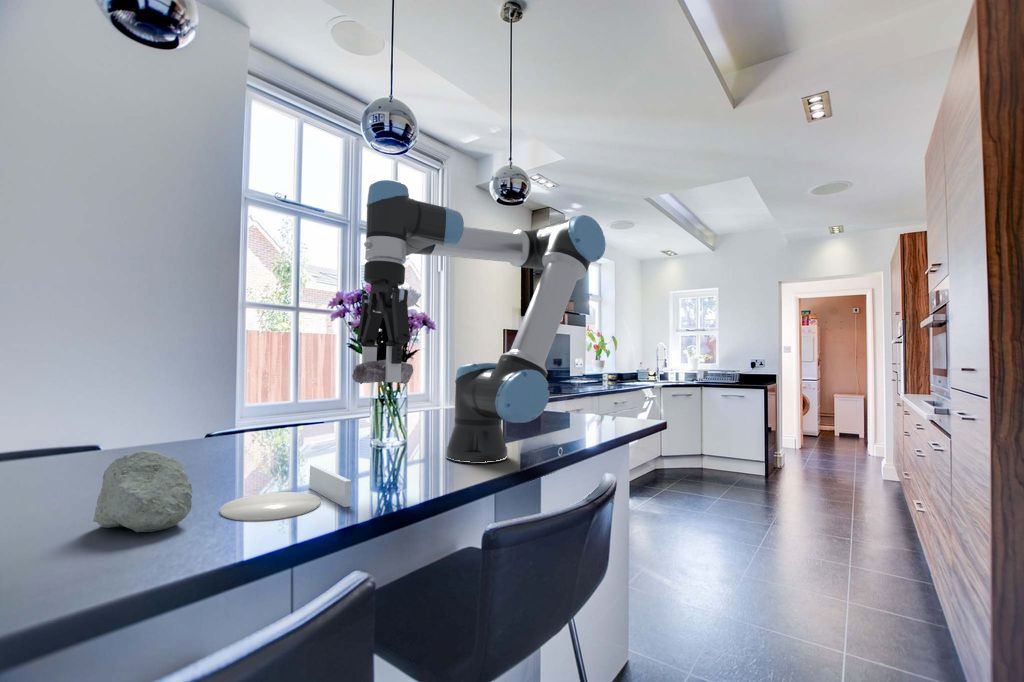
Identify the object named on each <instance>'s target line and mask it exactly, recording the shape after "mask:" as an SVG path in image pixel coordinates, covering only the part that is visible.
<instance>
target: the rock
mask: <svg viewBox="0 0 1024 682" xmlns="http://www.w3.org/2000/svg"><path fill="white" fill-rule="evenodd" d="M413 373H414V366H413V365H412V364H411V363H408V362H405V361H402V362H401V382H395V383H397V384H402V385H405V384H406V385H407V384H408V383H409V382H410V379H411V378H412V375H413ZM385 374H386V359H383V360H382V359H381V360H377V361H370V362H367V363H362V362H361V363H359V364H357V365H355V367H354V369H353V373H352V375H351V376H352V377H351V378H352V380H353V381H355V383H359V384H360V385H362V384H370V383H373V384H374V383H382V382H384V383H386V382H385Z"/></svg>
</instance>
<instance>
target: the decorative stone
mask: <svg viewBox="0 0 1024 682" xmlns="http://www.w3.org/2000/svg"><path fill="white" fill-rule="evenodd" d="M101 487H102V488H101V489H100V492H99V495H97V496H98V497H97V499H96V507H95V510H94V515H93V521H94V522H96V523H97V524H98V525H99V526H101V527H102V528H109V529H110V528H120V527H125V528H127V529H130V530H132V531H134V532H136V533H143V532H144V533H155V532H158V531H164V530H167V529H169V528H172V527H174V526H176V525H178V524H179V523H181V521H183V520H184V519H185V518H187V516H188V515H189V514H190V512H191V510H192V507H193V506H192V504H193V503H192V502H193V501H192V499H193V487H192V484H191V483H190V481H189V476H188V474H187V473H186V472H185V468H184V465H183V463H181V462H180V461H178V460H176V459H174V458H173V457H170V456H167V455H165V454H164V453H161V452H157V451H153V450H145V449H144V450H143V449H142V450H139V451H137V452H133V453H130V454H127V455H122V456H120V457H117V458H116V459H114V460H113V462H112V463H110V464H109V466H108V467H107V468H106V469H105V470H104V472H103V475H102V486H101Z"/></svg>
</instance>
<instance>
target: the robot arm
mask: <svg viewBox="0 0 1024 682" xmlns="http://www.w3.org/2000/svg"><path fill="white" fill-rule="evenodd" d="M464 224H465V222H464V217H463V215H462V214H461V212H459V211H458V210H455V209H452V208H449V207H447V206H441V205H437V204H433V203H429V202H424V201H420V200H416V199H413V198H410V193H409V188H408V186H406V185H405V184H404V183H402V182H400V181H397V180H393V179H378V180H375V181H373V182H372V183H371V184H370V185H369V188H368V194H367V202H366V235H365V242H364V243H363V245H364V247H365V258H364V259H365V260H366V262H365V264H364V269H363V270H364V273H363V281H364V282H365V283H367V284H369V285H370V291H369V293H368V294H365V293H364V294H363V293H362V295H361V310H360V315H359V316H360V318H359V323H358V330H357V337H356V343H357V344H360V346H361V347H362V352H361V353H362V354H361V363H367V362H370V361H378V360H377V357H378V356H377V355H378V347H379V344H377V343H376V342H377V338H378V334H379V331H380V328H381V324H382V320H383V319H384V323H385V328H386V333H387V338H388V341H387V342H386V343H385V345H386V350H385V351H386V353H385V354H386V356H385V360H386V374H385V382H384V383H396V382H401V362H403V347H404V346H405V344H406V343H410V341H411V333H410V321H409V320H410V319H409V310H408V309H409V307H408V297H409V296H408V295H409V290H408V289H404V288H399V287H400V286H404V284H405V279H406V267H405V265H404V264H405V263H406V262H407V261H406V257H407V256H410V255H413V254H414V255H424V256H425V255H426V256H427V255H428V256H437V257H438V256H440V257H448V258H449V257H450V258H460V259H461V258H462V259H470V260H483V261H494V262H495V261H496V262H505V263H510V265H512V267H516V268H526V269H533V270H536V269H537V270H543V271H542V273H541V276H540V278H539V281H538V283H537V285H536V288H535V290H534V292H533V295H532V297H531V300H530V302H529V305H528V307H527V309H526V312H525V314H524V317H523V319H522V322H521V323H520V327H519V329H518V331H517V333H516V336H515V337H514V340H513V342H512V345H511V348H510V349H509V351H507V352H504V353H502V354H501V355H500V357H499V360H498V362H497V363H495V362H480V363H479V362H478V363H468V364H463V365H460V366H459V367H458V368H457V369H456V373H455V374H456V375H455V380H454V383H455V393H454V394H455V396H454V397H455V398H454V424H453V425H454V426H453V429H452V432H451V435H450V437H449V440H448V445H447V446H446V450H445V457H446V456H447V457H448V458H451V459H454V460H460V461H470V462H485V461H486V462H487V461H496V460H500V459H503V458H505V457H506V456H507V457H508V447H507V446H506V440H505V437H504V433H503V429H502V421H505V422H507V423H514V424H516V423H517V424H518V423H529V422H532V421H534V420H536V419H537V418H539V417H540V416H541V414H542V413H543V412H544V411H545V409H546V407H547V405H548V402H549V401H550V399H549V398H550V390H549V389H548V388H549V382H548V380H547V377H548V370H547V369H546V366H545V364H546V360H547V358H548V356H549V352H550V351H551V348H552V346H553V342H554V340H555V338H556V335H557V333H558V330H559V328H560V326H561V325H560V324H561V323H562V320H563V317H564V315H565V312H566V310H567V307H568V305H569V302H570V300H571V297H572V294H573V292H574V289H575V287H576V283H577V281H579V280H583V278H585V277H586V275H587V272H588V270H589V268H590V266H591V263H595V262H597V261H599V260H600V259H601V258H603V256H604V254H605V251H606V237H605V234H604V232H603V229H602V227H601V226H600V224H599V223H598V222H597V220H595V219H594V218H593V217H591V216H589V215H587V214H586V215H585V214H582V215H581V214H580V215H574V216H572V217H570V218H568V219H565V220H562V221H559V222H555V223H553V224H550V225H546V226H543V227H540V228H536V229H532V230H523V229H516V230H515V231H513V232H507V231H500V230H492V229H485V228H478V227H477V228H476V227H470V226H465V225H464Z"/></svg>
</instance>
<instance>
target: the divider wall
mask: <svg viewBox="0 0 1024 682" xmlns="http://www.w3.org/2000/svg"><path fill="white" fill-rule="evenodd" d="M308 481H309V482H308V483H309V485H308V489H310V490H312V491H314V492H316V493H318V494H320V496H321V495H322V497H325V498H327V499H329V500H330V501H332V502H334V503H336V504H338V505H339V506H341V507H343V508H347V507H348V508H349V507H351V503H352V502H351V499H352V498H351V497H352V480H351V479H348V478H346V477H344V476H343V475H340V474H337V473H335V472H333V471H331V470H330V469H329V470H328V469H327V468H324V467H322V466H320V465H317V464H310V465H309V480H308Z"/></svg>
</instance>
